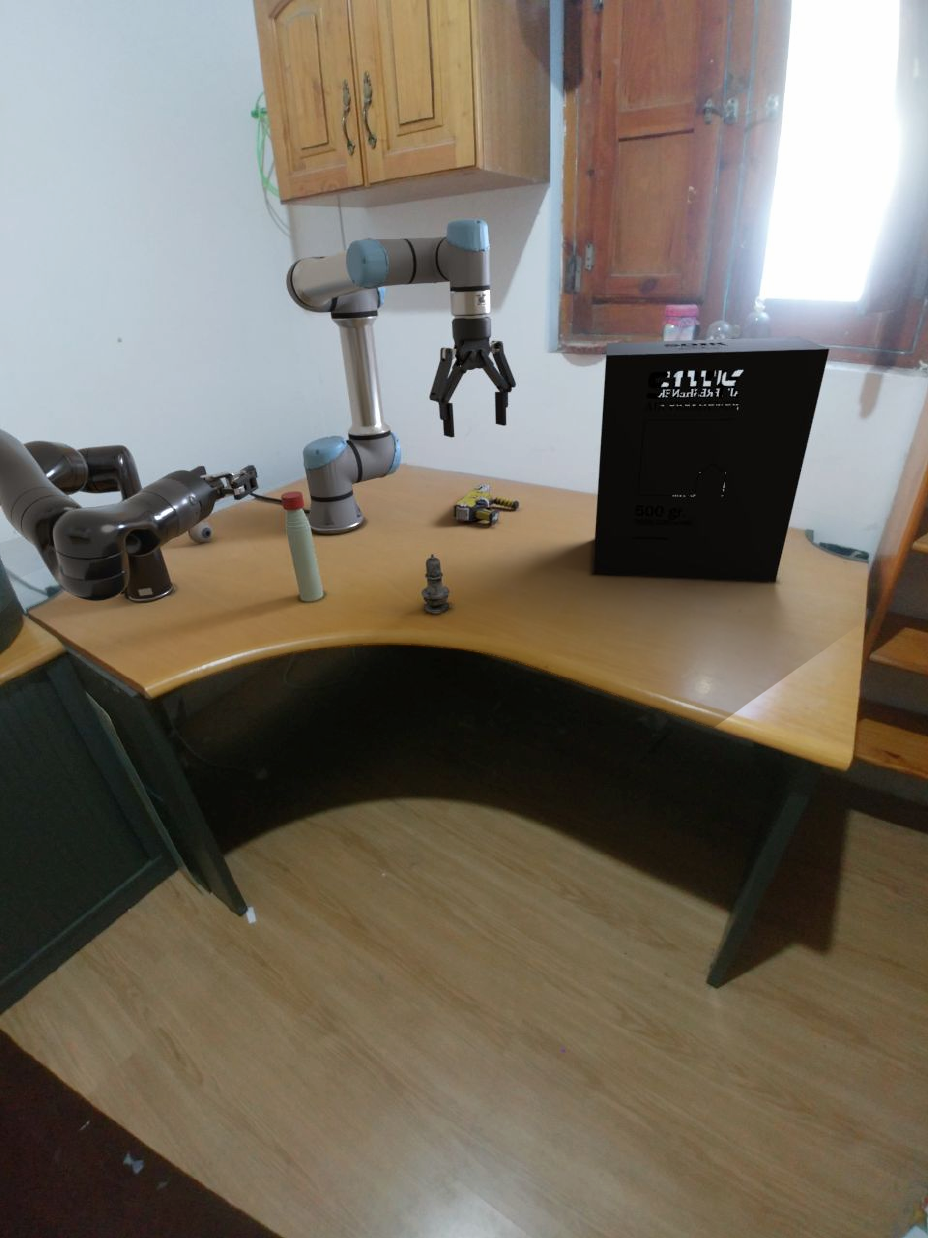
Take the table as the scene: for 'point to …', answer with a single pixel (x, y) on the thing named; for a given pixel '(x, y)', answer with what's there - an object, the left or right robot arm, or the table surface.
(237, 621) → the table surface
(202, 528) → the eyeball
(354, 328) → the right robot arm
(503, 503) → the toy gun
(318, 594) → the bottle
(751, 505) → the cardboard box
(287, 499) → the cap
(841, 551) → the table surface
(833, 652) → the table surface
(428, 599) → the grey tiered upright piece
